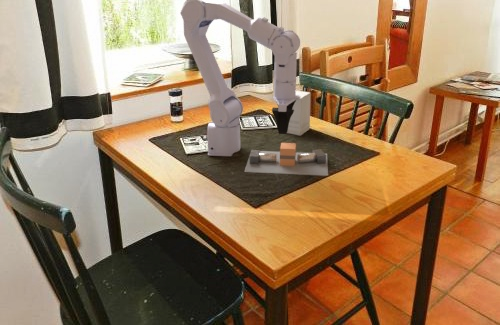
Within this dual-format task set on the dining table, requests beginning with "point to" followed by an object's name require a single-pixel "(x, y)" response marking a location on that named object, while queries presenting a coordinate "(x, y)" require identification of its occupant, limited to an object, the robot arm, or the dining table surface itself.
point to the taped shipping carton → (288, 154)
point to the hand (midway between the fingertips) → (283, 128)
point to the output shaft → (312, 157)
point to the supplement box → (300, 114)
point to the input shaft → (262, 157)
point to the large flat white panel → (288, 167)
